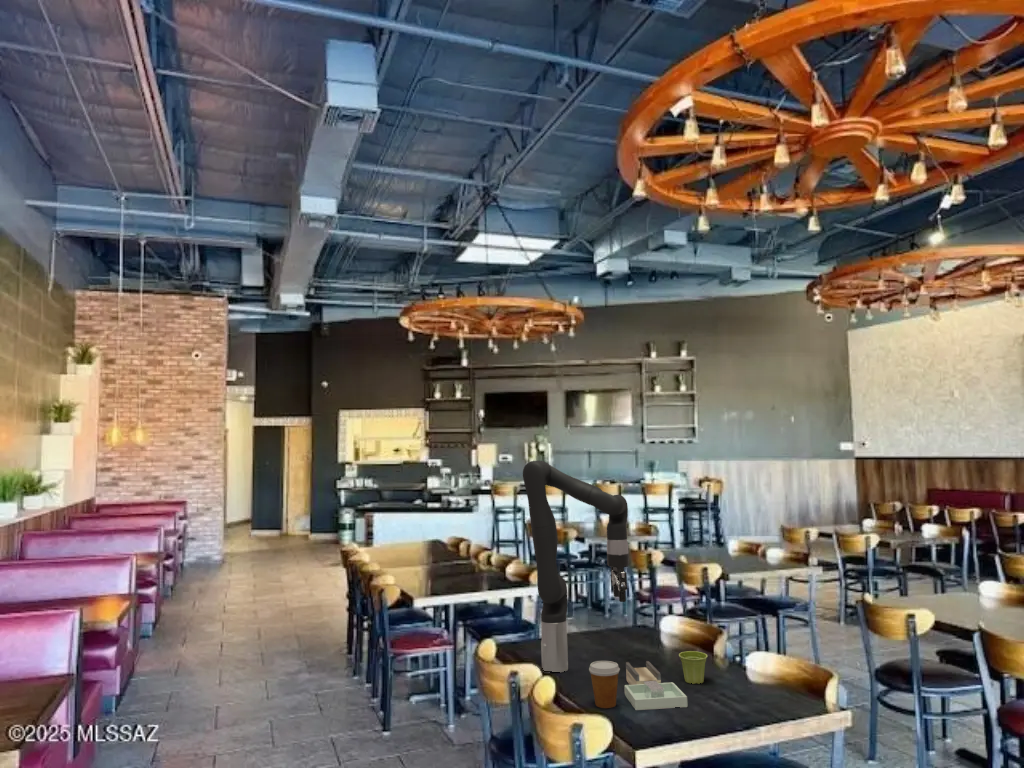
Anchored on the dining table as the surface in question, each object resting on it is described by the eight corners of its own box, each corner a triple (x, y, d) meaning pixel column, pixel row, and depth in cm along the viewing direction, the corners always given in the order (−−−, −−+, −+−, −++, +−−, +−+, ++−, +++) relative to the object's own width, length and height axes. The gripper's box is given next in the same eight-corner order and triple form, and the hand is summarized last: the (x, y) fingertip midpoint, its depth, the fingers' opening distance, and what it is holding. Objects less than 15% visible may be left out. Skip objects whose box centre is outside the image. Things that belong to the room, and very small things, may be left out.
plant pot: (713, 680, 242) (712, 654, 243) (700, 688, 235) (698, 660, 236) (689, 675, 249) (687, 649, 249) (674, 682, 242) (673, 655, 243)
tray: (635, 710, 217) (635, 699, 217) (624, 694, 231) (624, 685, 231) (687, 707, 218) (687, 696, 219) (673, 691, 232) (673, 682, 233)
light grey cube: (647, 698, 225) (647, 685, 225) (644, 694, 229) (643, 681, 229) (660, 697, 225) (659, 684, 226) (656, 693, 229) (655, 680, 230)
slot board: (637, 694, 231) (636, 674, 232) (626, 680, 245) (625, 662, 246) (661, 692, 232) (660, 673, 233) (649, 679, 246) (648, 661, 246)
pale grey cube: (648, 698, 225) (651, 703, 221) (647, 685, 225) (651, 689, 221) (660, 697, 225) (664, 702, 221) (659, 684, 226) (663, 688, 222)
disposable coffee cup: (613, 712, 216) (611, 670, 217) (585, 707, 221) (583, 666, 222) (626, 702, 224) (624, 662, 225) (598, 697, 229) (596, 658, 230)
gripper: (603, 550, 261) (604, 595, 259) (611, 555, 247) (613, 604, 245) (623, 549, 262) (625, 594, 260) (633, 554, 247) (635, 602, 246)
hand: (619, 599), depth 253 cm, fingers open, 8 cm apart
